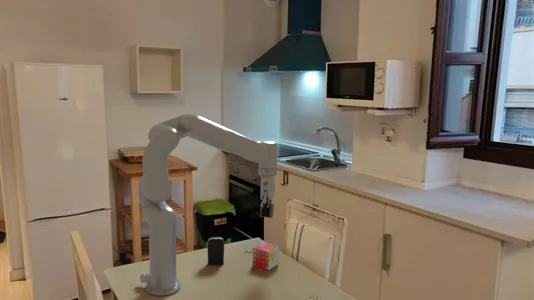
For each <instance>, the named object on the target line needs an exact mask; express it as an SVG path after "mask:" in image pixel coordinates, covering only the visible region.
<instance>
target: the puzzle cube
mask: <svg viewBox="0 0 534 300" xmlns="http://www.w3.org/2000/svg"><path fill="white" fill-rule="evenodd" d="M279 256H280V246H279V245H277V244H272V243H268V242H265V241H263V242H261V243H259V244H257V245H256V246H254V247H252V266H253V267H256V268H260V269H264V270H267V271H270V270H271V269H273V268H274V267H276V266H277V265H279V259H280V257H279Z"/></svg>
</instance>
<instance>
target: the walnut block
mask: <svg viewBox="0 0 534 300" xmlns="http://www.w3.org/2000/svg"><path fill="white" fill-rule="evenodd" d="M267 203H268V202H267ZM259 206H260V207H259V217H260V218H264V217H263V216H262V202H261V203H260V205H259ZM269 207H270V216H269V217H266V218H268V219H269V218H270V219H271V218H272V219H273V216H274V213H275V212H274V211H275V202H272V203H271V202H269Z"/></svg>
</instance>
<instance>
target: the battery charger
mask: <svg viewBox="0 0 534 300" xmlns="http://www.w3.org/2000/svg"><path fill="white" fill-rule="evenodd" d="M206 244H207V245H206V247H207V248H206V249H207V265H209V266H211V265H212V266H215V265H224V263H225V262H224V261H225V260H224V257H225V241H224V238H223V237H222V236H210V237H209V238H208V239H207V243H206Z"/></svg>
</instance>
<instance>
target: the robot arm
mask: <svg viewBox="0 0 534 300" xmlns="http://www.w3.org/2000/svg"><path fill="white" fill-rule="evenodd" d="M147 136H148V137H147V138H148V140H149V142H148V144H147V145H146V147H145V148H144V150H143V154H142V171H143V173H142V176H141V177H140V178H139V181H138V185H137V188H138V189H137V190H138V196H139V203H140V210H141V215H142V218H143V219H144V220H145V221H146V223H148V225H149V229H150V230H149V236H148V238H149V239H148V249H149V250H148V251H149V252H148V253H149V255H148V256H149V274H140V276H139V279H140V283H146V285H145V291H146V292H147V294H150V295H152V296H159V297H160V296H161V297H163V296H168V295H172V294H175V293H177V292H178V291H179V290H180V289H181V288H182V285H181V281H180V280H179V279H177V229H178V221H179V220H178V215H177V214H176V211H175V210H174V209H173V208H172V207H171V206H170V205H168V204H167V201H168V200H169V198H170V196H171V192H172V188H171V183H170V182H171V181H170V176H169V164H168V162H169V161H168V160H169V156H170V155H171V153H172V152H173V151H174V150H175V149H176V148H177V147H178V146H179V144H180V141H181V139H184V138H186V137H188V138H191V139H193V140H195V141H198V142H201V143H203V144H206V145H208V146H211V147H213V148H215V149H217V150H220V151H222V152H226V153H230V154H233V155H235V156H238V157H241V158H243V159H244V160H247V161H249V162H253V163H255V164H258V176H259V177H260V200H261V201H262V202H261V203H262V216H263V217H262V218H267V217H269V216H270V207H269V202H271V203H273V202H272V201H273V200H274V199H275V197H276V177H277V176H278V146H279V145H278V143H277V142H276V141H272V140H263V141H256V140H254V139H252V138H249V137H247V136H245V135H243V134H240V133H238V132H236V131H234V130H231V129H229V128H227V127H225V126H223V125H220V124H218V123H216V122H213V121H212V120H208V119H207V118H205V117H202V116H200V115H197V114H192V113H185V114H182V115H179V116H176V117H173V118H170V119H167V120H164V121H163V122H159V123H157V124H155V125H153V126H152V127H151V128H150V129H149V131H148V135H147ZM267 202H268V203H267Z"/></svg>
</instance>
